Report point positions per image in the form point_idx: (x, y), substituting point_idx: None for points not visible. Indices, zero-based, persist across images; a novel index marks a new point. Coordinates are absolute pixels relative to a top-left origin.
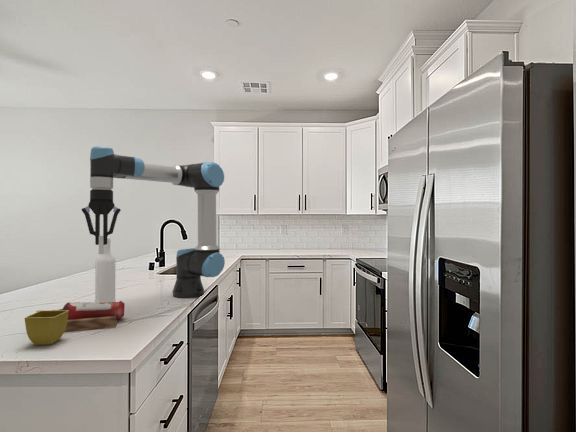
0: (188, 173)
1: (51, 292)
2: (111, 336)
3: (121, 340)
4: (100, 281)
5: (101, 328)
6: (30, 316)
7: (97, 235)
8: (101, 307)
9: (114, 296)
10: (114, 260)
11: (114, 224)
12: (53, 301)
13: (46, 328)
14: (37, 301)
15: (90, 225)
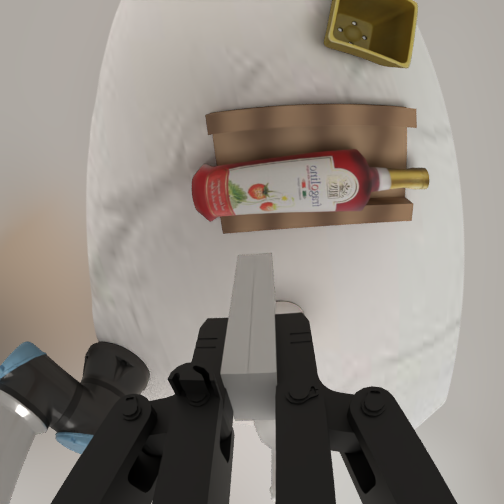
0: None
1: None
2: (205, 38)
3: (175, 10)
4: None
5: (246, 108)
6: (412, 20)
7: (292, 383)
8: (257, 169)
9: None
10: (256, 423)
11: (61, 488)
12: (389, 370)
13: None
14: (413, 371)
15: (408, 494)
